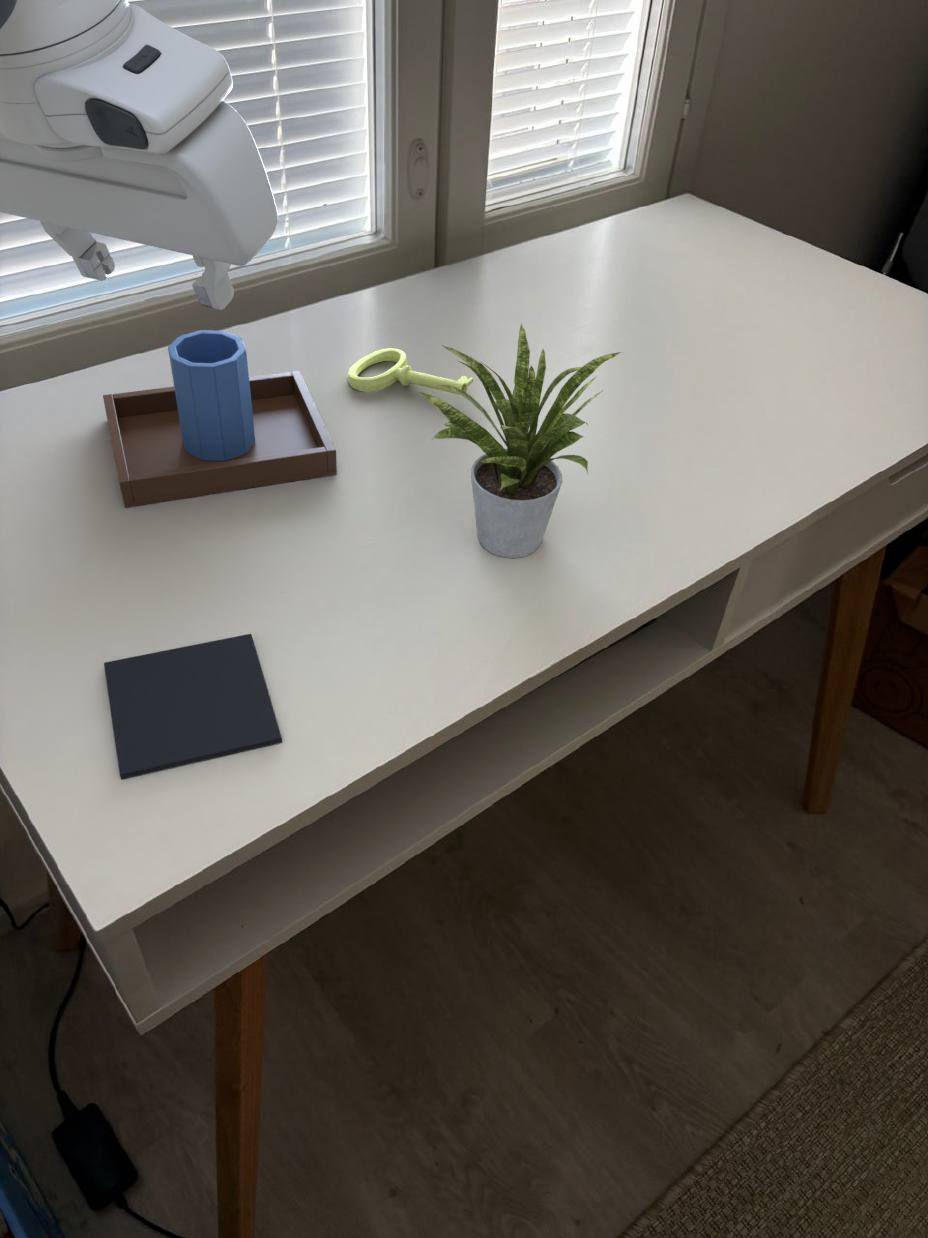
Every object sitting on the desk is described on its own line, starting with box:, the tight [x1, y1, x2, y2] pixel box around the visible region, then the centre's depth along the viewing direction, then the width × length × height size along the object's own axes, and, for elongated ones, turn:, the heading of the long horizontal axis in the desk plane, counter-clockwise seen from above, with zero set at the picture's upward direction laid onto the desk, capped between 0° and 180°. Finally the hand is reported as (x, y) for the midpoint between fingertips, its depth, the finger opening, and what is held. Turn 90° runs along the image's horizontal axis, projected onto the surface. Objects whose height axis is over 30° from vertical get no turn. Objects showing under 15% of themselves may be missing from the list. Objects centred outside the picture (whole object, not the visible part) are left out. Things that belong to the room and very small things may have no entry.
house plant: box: [418, 323, 623, 559], centre depth 77 cm, size 14×14×16 cm
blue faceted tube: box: [167, 329, 255, 461], centre depth 85 cm, size 6×6×9 cm
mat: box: [103, 633, 283, 780], centre depth 67 cm, size 10×10×1 cm
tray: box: [102, 370, 338, 508], centre depth 88 cm, size 18×14×2 cm
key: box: [347, 347, 474, 396], centre depth 98 cm, size 7×12×2 cm, turn 80°
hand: (158, 287), depth 64 cm, fingers open, 8 cm apart
